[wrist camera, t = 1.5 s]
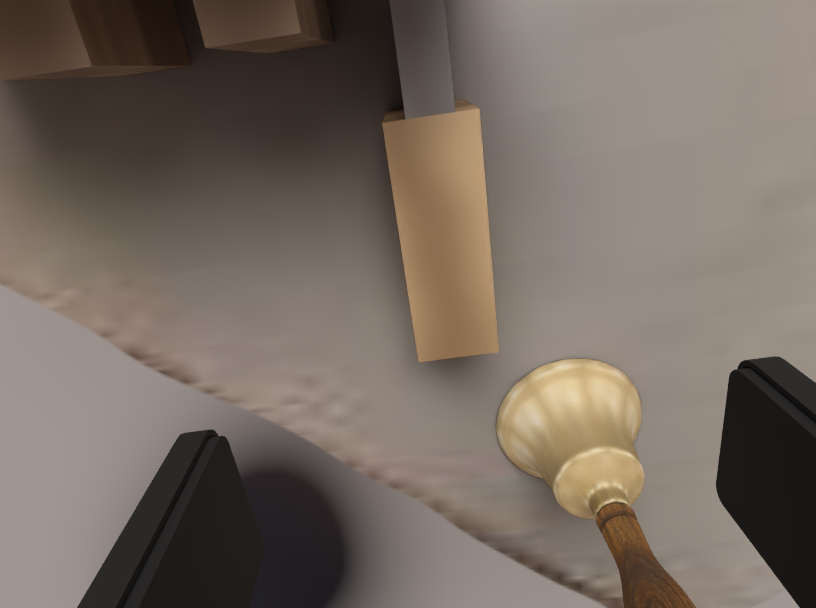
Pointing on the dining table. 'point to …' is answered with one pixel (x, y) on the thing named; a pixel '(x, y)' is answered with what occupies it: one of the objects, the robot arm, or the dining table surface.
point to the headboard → (144, 34)
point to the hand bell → (589, 461)
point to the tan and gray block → (439, 192)
